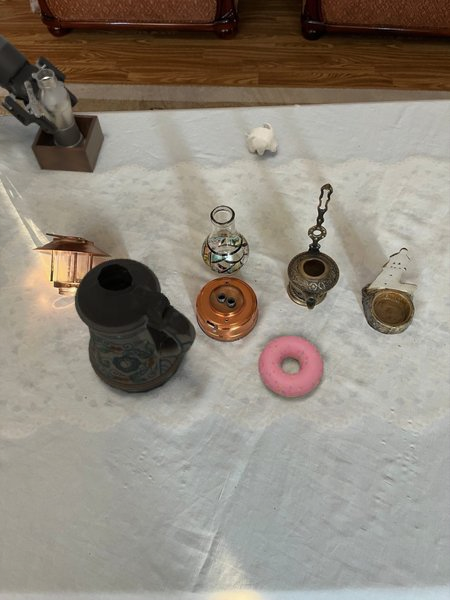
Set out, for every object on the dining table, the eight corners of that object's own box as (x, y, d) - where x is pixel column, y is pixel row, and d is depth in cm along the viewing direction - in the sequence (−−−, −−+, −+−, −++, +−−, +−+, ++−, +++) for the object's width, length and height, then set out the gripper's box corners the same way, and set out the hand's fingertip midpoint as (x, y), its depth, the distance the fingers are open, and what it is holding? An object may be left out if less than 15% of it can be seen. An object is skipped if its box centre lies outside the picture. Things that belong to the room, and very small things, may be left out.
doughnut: (254, 344, 93) (254, 333, 89) (315, 338, 93) (318, 327, 89) (261, 403, 87) (262, 394, 84) (327, 397, 87) (331, 388, 84)
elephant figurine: (271, 166, 114) (272, 145, 109) (237, 155, 116) (237, 134, 111) (282, 145, 117) (284, 124, 112) (250, 135, 119) (250, 114, 114)
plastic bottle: (87, 140, 119) (60, 61, 101) (89, 161, 115) (62, 83, 98) (58, 145, 118) (27, 66, 101) (60, 167, 115) (28, 89, 97)
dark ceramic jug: (98, 312, 97) (57, 227, 75) (203, 309, 97) (192, 224, 75) (87, 397, 89) (38, 330, 67) (202, 395, 88) (189, 327, 67)
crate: (43, 175, 115) (30, 147, 108) (56, 141, 120) (45, 112, 113) (94, 178, 114) (85, 150, 107) (105, 143, 119) (97, 115, 112)
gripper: (-21, 68, 93) (55, 133, 101) (21, 23, 100) (90, 87, 107) (-33, 88, 99) (41, 148, 106) (8, 44, 105) (74, 103, 113)
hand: (65, 117), depth 107 cm, fingers open, 8 cm apart
